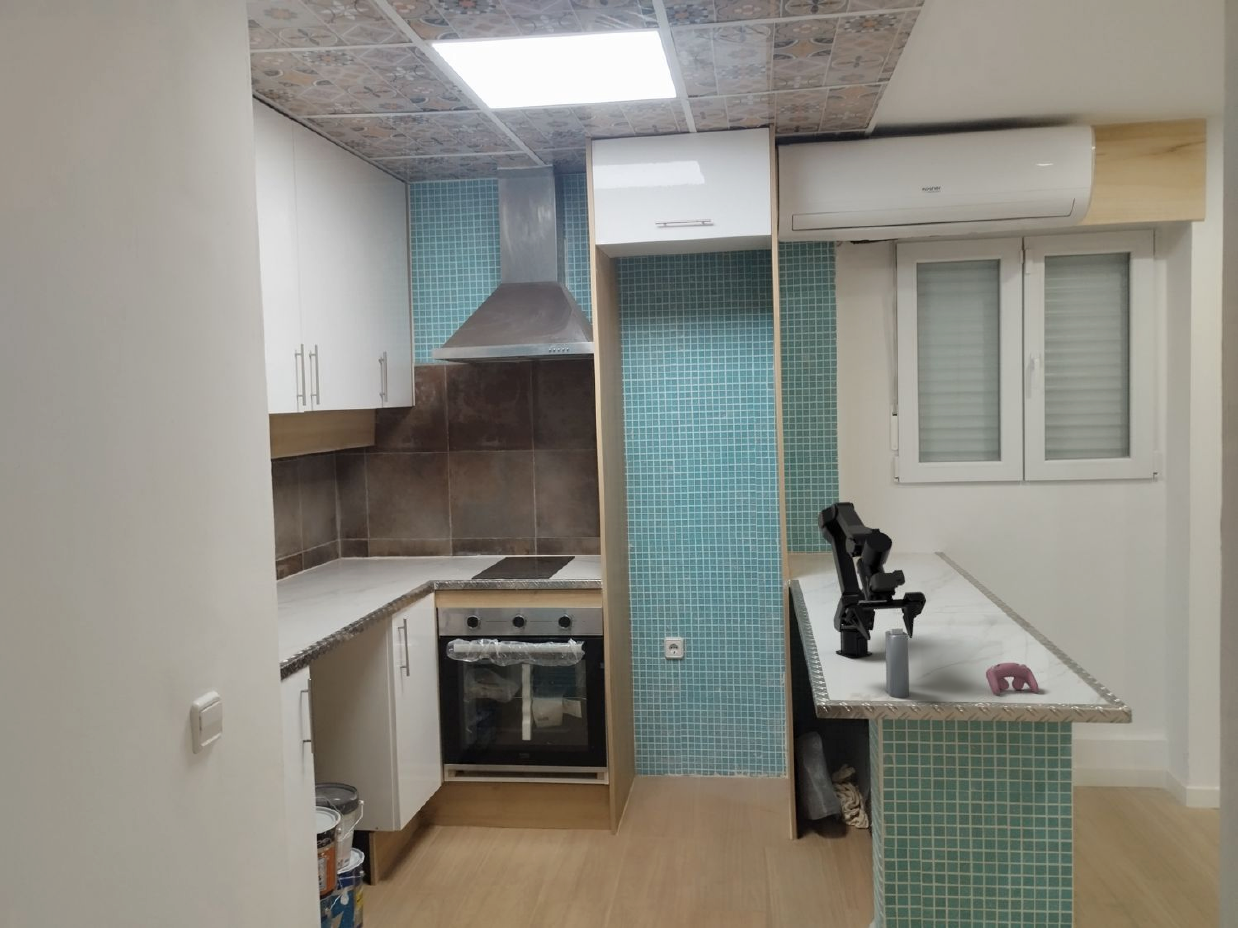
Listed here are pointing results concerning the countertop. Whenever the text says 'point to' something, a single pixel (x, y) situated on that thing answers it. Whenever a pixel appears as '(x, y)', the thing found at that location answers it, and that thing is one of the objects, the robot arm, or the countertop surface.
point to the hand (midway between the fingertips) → (890, 638)
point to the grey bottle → (897, 663)
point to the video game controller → (1015, 670)
